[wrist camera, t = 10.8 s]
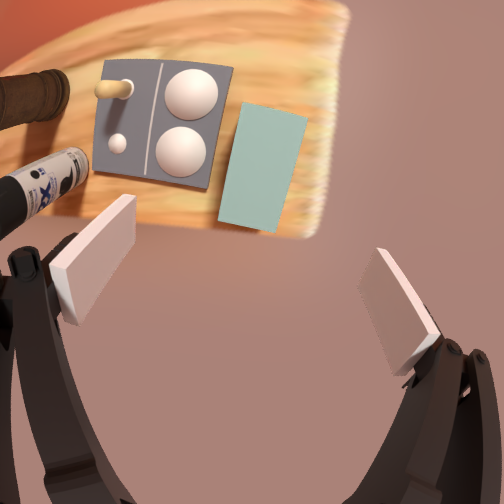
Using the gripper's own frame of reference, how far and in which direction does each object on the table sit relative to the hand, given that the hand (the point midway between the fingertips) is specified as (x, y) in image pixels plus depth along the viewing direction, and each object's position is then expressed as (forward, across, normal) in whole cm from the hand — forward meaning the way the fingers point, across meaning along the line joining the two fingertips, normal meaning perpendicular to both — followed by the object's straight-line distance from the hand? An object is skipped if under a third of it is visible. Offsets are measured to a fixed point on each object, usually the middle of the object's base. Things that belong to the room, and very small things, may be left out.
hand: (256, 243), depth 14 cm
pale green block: (+25, 0, 0) cm, 25 cm away
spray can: (+25, -28, -6) cm, 38 cm away
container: (+25, -35, +6) cm, 44 cm away
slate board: (+25, -15, +2) cm, 29 cm away
